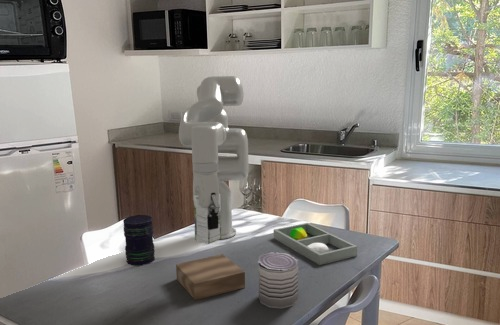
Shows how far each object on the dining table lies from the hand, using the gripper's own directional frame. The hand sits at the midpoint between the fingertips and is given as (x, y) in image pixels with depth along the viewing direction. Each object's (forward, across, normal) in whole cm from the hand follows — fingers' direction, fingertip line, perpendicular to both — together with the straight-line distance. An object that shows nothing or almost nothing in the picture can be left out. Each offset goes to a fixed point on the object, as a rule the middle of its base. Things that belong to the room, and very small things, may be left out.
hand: (207, 224), depth 138 cm
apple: (+19, -14, +43) cm, 49 cm away
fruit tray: (+19, -9, +45) cm, 50 cm away
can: (+19, +19, +13) cm, 30 cm away
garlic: (+19, -3, +42) cm, 46 cm away
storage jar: (+19, -29, -14) cm, 37 cm away
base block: (+19, 0, 0) cm, 19 cm away
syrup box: (+5, 0, 0) cm, 5 cm away
